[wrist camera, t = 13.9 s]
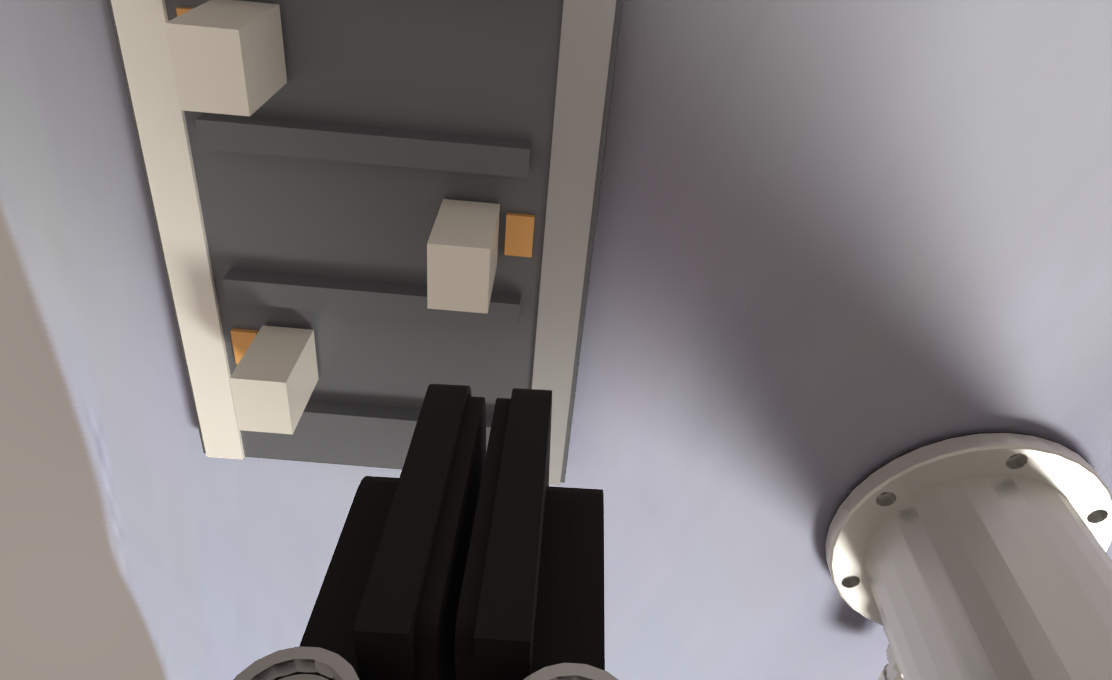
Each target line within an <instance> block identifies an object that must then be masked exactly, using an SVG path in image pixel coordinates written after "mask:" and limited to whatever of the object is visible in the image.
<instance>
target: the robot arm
mask: <svg viewBox="0 0 1112 680" xmlns="http://www.w3.org/2000/svg"><path fill="white" fill-rule="evenodd" d="M551 415H552V390H538V389H519V388H513V390H512V395H511V399H509V398H497V399H496V402H495V408H494V413H493V419H492V424H491V430H490V435H489V441H488V446H487V452H486V403H485V398H484V397H473V396H472V395H471V387H470V386H465V385H447V384H430V385H429V386H428V388H427V391H426V394H425V398H424V401H423V404H422V407H421V411H420V414H419V417H418V420H417V424H416V427H415V430H414V433H413V436H412V440H411V443H410V446H409V449H408V453H407V456H406V459H405V462H404V466H403V469H402V472H401V475H400V478H389V477H372V476H365V477H364V478H363V479H362V481H361V483H360V485H359V487H358V489H357V492H356V494H355V497H354V500H353V503H352V505H351V508H350V511H349V513H348V516H347V519H346V522H345V524H344V527H343V530H342V532H341V535H340V538H339V541H338V543H337V546H336V549H335V551H334V554H333V557H332V560H331V562H330V565H329V568H328V570H327V573H326V576H325V579H324V581H323V584H322V587H321V589H320V592H319V595H318V598H317V600H316V603H315V606H314V608H313V611H312V614H311V617H310V619H309V622H308V625H307V627H306V630H305V633H304V636H303V638H302V641H301V644H300V646H299V647H294V648H289V649H284V650H279V651H276V652H274V653H272V654H270V655H267V656H265V657H263V658H261V659H259V660H257V661H255V662H254V663H252V664H251V665H250V666H249V667H247V668H246V669H245V670H243V671H242V672H241V673H240V674H238V675H237V676H236V677H235V679H234V680H618V679H617V678H615V677H614V676H612V675H611V674H610V673H608V672H607V671H605V659H604V507H603V490H598V489H581V488H563V487H549V465H550V440H551ZM1111 541H1112V496H1111V494H1110V491H1109V489H1108V487H1107V486H1106V484H1105V483H1104V482H1103V480H1102V479H1101V478H1100V476H1099V475H1098V474H1097V472H1096V471H1095V470H1094V468H1093V467H1092V466H1091V465H1089V464H1088V463H1087V462H1086V461H1085V460H1084V459H1083V458H1082V457H1081V456H1080V455H1079V454H1077V453H1075V452H1073V451H1072V450H1070V449H1068V448H1066V447H1064V446H1062V445H1061V444H1059V443H1055V442H1052V441H1049V440H1046V439H1042V438H1039V437H1036V436H1029V435H1021V434H1012V433H987V434H974V435H968V436H962V437H956V438H950V439H947V440H943V441H940V442H937V443H933V444H930V445H927V446H923V447H921V448H918V449H916V450H914V451H912V452H909V453H907V454H905V455H903V456H901V457H898V458H896V459H894V460H893V461H891V462H890V463H888V464H887V465H885V466H883V467H882V468H880V469H879V470H877V471H875V472H874V473H872V474H871V475H870V476H869V477H868V478H866V479H865V480H864V481H863V482H862V483H861V484H860V485H858V486H857V487H856V488H855V489H854V490H853V491H852V492H851V493H850V495H849V496H848V497H847V498H846V499H845V501H844V502H843V503H842V504H841V506H840V507H839V509H838V510H837V512H836V514H835V516H834V518H833V520H832V522H831V524H830V526H829V530H828V535H827V539H826V543H825V544H826V561H827V564H828V568H829V571H830V575H831V578H832V581H833V583H834V585H835V587H836V589H837V591H838V593H839V595H840V596H841V597H842V598H843V600H844V601H845V602H846V603H847V604H848V605H849V606H850V607H851V608H852V609H853V610H855V611H856V612H858V613H859V614H861V615H862V616H864V617H865V618H866V619H869V620H871V621H873V622H876V623H878V624H880V625H882V626H883V628H884V631H885V633H886V636H887V639H888V642H889V645H888V647H887V649H886V652H887V659H888V661H889V664H887V665H886V666H885V667H884V669H883V671H882V673H881V675H880V677H879V679H878V680H1112V560H1111V559H1110V558H1109V556H1108V555H1107V553H1106V551H1107V549H1108V547H1109V545H1110V543H1111Z"/></svg>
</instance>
